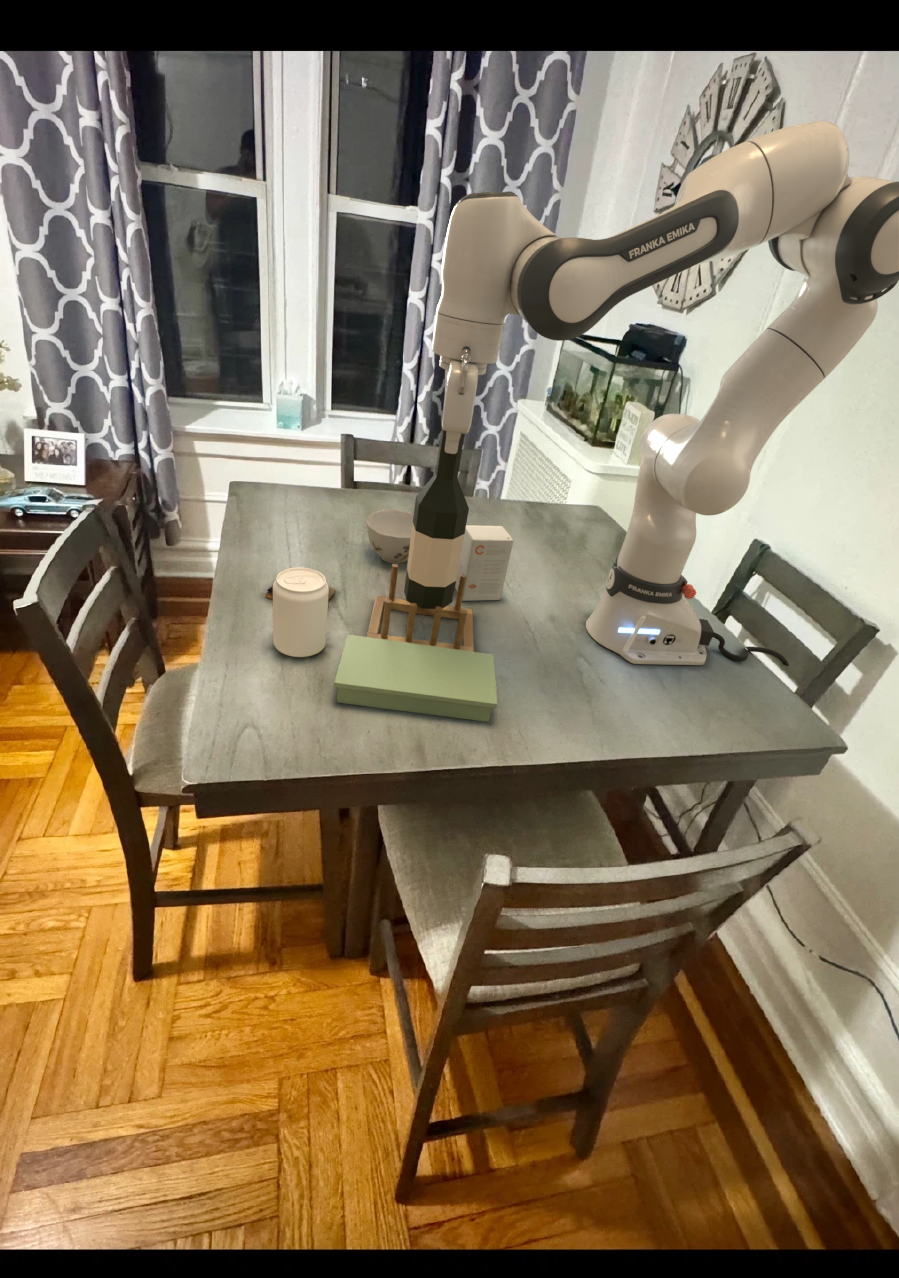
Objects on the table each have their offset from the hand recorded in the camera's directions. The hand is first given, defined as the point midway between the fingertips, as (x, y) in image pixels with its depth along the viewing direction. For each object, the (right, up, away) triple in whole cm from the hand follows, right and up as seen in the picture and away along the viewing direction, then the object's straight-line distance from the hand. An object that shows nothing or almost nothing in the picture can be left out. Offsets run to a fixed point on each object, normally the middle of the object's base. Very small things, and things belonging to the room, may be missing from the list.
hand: (450, 447), depth 86 cm
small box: (+5, -19, +32) cm, 37 cm away
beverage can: (-24, -29, +9) cm, 39 cm away
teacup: (-11, -11, +39) cm, 42 cm away
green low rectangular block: (-5, -35, +5) cm, 36 cm away
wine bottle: (-4, -21, +14) cm, 25 cm away
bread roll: (-27, -20, +21) cm, 40 cm away
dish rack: (-5, -26, +18) cm, 32 cm away
